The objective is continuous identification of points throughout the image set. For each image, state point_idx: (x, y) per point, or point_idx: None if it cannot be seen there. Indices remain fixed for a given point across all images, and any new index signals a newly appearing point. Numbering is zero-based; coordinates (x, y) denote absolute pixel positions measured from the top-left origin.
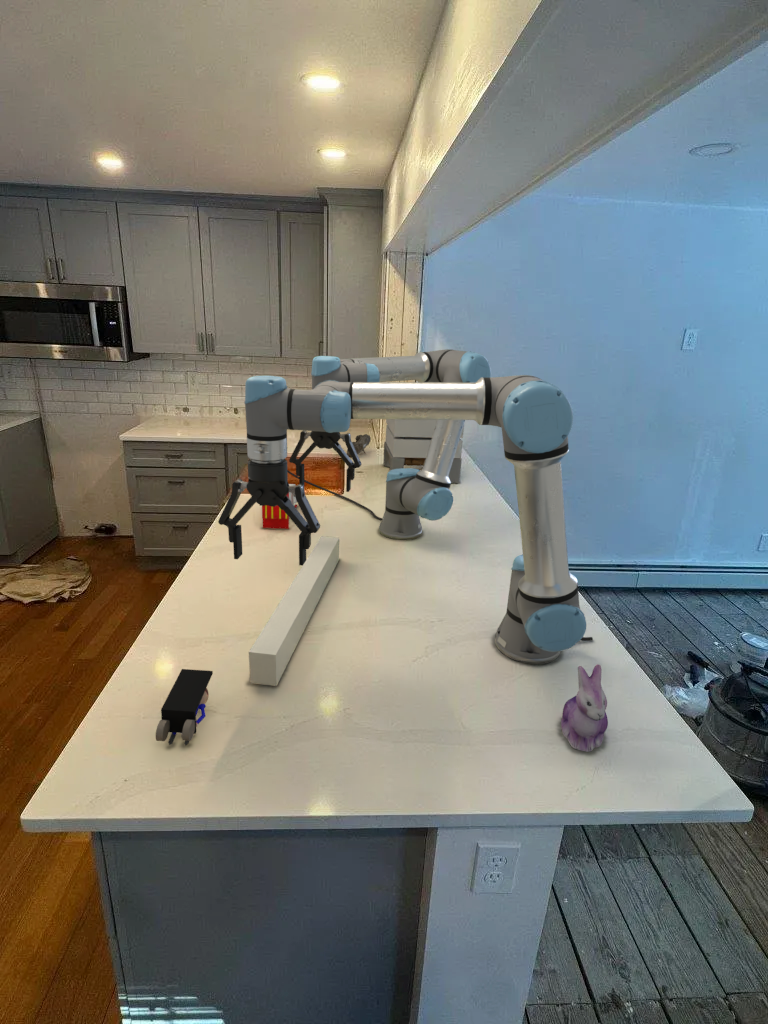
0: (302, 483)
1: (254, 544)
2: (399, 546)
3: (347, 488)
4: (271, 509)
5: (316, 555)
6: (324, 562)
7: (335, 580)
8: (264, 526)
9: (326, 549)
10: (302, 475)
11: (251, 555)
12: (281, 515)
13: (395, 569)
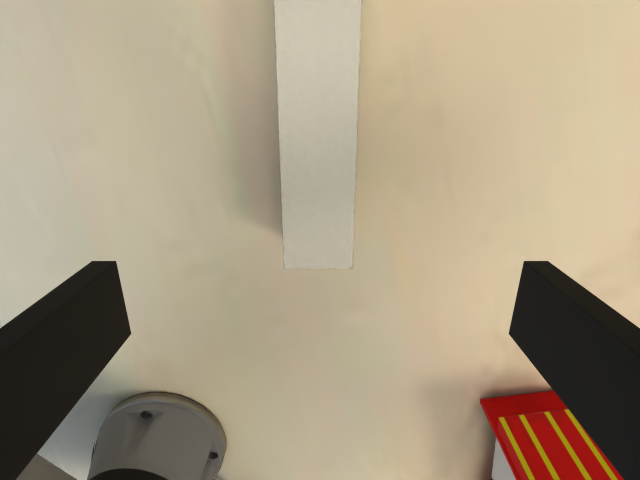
0: (541, 296)
1: None
2: (142, 356)
3: (87, 276)
4: (566, 439)
5: (329, 75)
6: (279, 7)
7: (265, 87)
8: (554, 394)
9: (303, 145)
10: (596, 349)
11: (565, 209)
12: (521, 425)
13: (106, 207)
